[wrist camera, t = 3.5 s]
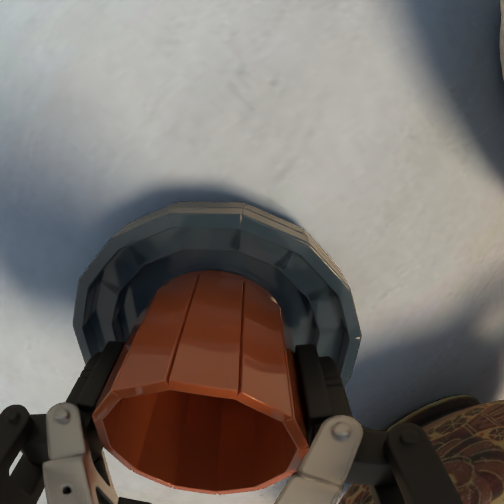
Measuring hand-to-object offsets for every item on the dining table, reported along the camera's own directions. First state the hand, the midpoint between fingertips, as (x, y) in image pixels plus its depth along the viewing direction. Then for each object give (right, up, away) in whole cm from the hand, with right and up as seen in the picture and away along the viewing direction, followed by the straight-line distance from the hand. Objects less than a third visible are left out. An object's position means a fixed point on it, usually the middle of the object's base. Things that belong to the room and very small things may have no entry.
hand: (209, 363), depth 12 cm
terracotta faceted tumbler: (0, +1, +2) cm, 2 cm away
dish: (0, +1, +2) cm, 2 cm away
